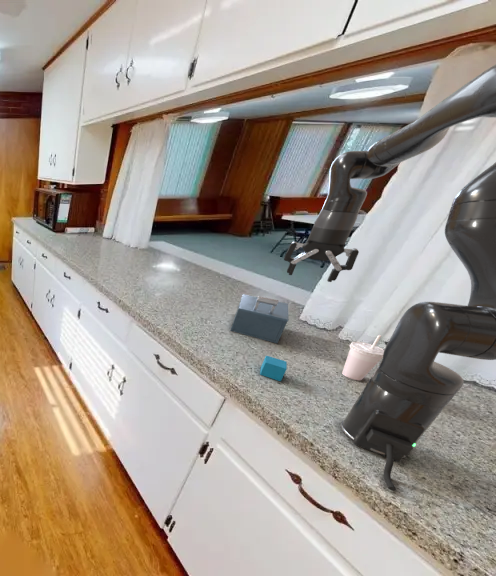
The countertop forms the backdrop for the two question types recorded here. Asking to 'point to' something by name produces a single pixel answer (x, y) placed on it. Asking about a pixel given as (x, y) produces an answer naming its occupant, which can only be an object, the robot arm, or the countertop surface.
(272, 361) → the block
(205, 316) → the countertop surface
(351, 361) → the smoothie
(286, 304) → the lid
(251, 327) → the compartment
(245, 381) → the countertop surface
